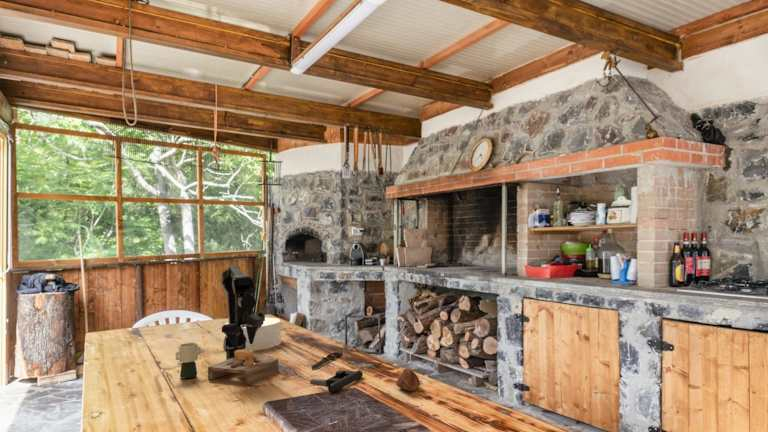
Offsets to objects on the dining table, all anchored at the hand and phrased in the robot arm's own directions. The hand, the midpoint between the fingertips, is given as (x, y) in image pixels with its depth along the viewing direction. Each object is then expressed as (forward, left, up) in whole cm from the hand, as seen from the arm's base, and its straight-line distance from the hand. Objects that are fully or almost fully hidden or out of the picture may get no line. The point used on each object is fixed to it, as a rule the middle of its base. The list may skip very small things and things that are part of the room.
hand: (243, 346), depth 185 cm
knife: (+22, +27, -12) cm, 37 cm away
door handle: (+39, +3, -12) cm, 41 cm away
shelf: (0, 0, -11) cm, 11 cm away
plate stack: (-32, +46, -12) cm, 57 cm away
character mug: (-20, -9, -12) cm, 25 cm away
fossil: (+68, +4, -12) cm, 69 cm away
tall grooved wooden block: (0, 0, -8) cm, 8 cm away
